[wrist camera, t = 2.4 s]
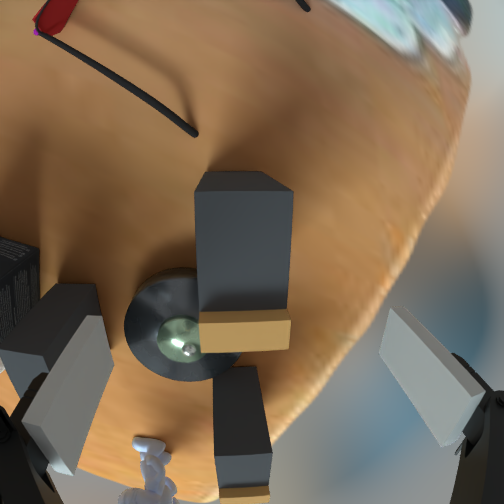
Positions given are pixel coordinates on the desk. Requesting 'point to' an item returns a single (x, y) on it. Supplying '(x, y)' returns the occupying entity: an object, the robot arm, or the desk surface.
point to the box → (17, 283)
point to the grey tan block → (46, 332)
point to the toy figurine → (151, 475)
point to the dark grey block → (241, 437)
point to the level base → (172, 328)
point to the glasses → (54, 21)
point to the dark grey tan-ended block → (243, 261)
